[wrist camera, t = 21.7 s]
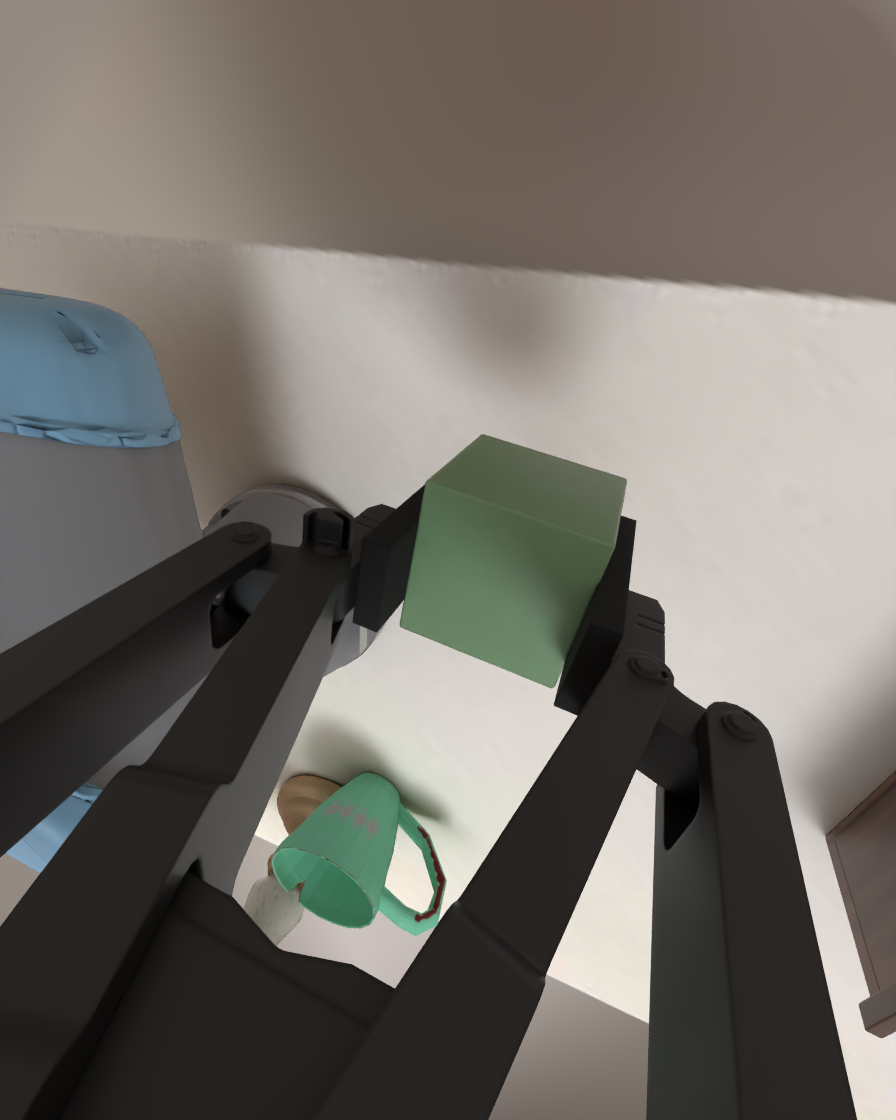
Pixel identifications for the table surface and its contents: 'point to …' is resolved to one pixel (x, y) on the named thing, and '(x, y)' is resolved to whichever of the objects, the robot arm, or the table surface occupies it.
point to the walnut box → (871, 898)
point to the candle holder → (267, 895)
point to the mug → (356, 857)
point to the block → (511, 555)
